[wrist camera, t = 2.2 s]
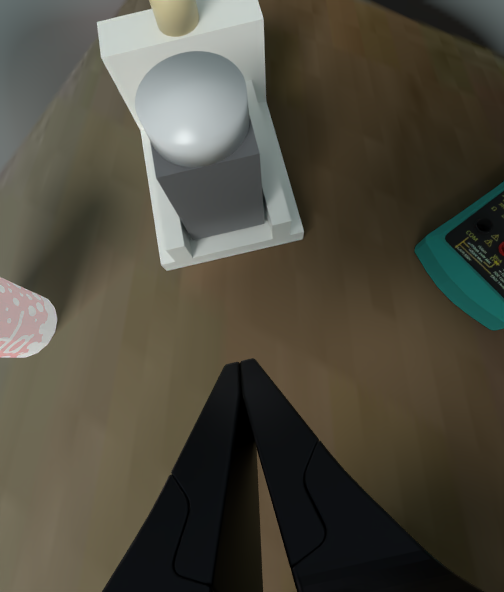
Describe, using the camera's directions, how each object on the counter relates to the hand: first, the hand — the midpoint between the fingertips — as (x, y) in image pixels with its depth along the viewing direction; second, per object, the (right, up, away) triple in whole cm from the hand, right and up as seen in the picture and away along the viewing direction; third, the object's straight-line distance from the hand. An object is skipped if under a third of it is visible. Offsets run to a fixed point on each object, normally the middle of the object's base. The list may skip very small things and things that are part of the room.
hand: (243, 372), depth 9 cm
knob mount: (-3, +12, +16) cm, 20 cm away
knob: (-2, +9, +13) cm, 16 cm away
